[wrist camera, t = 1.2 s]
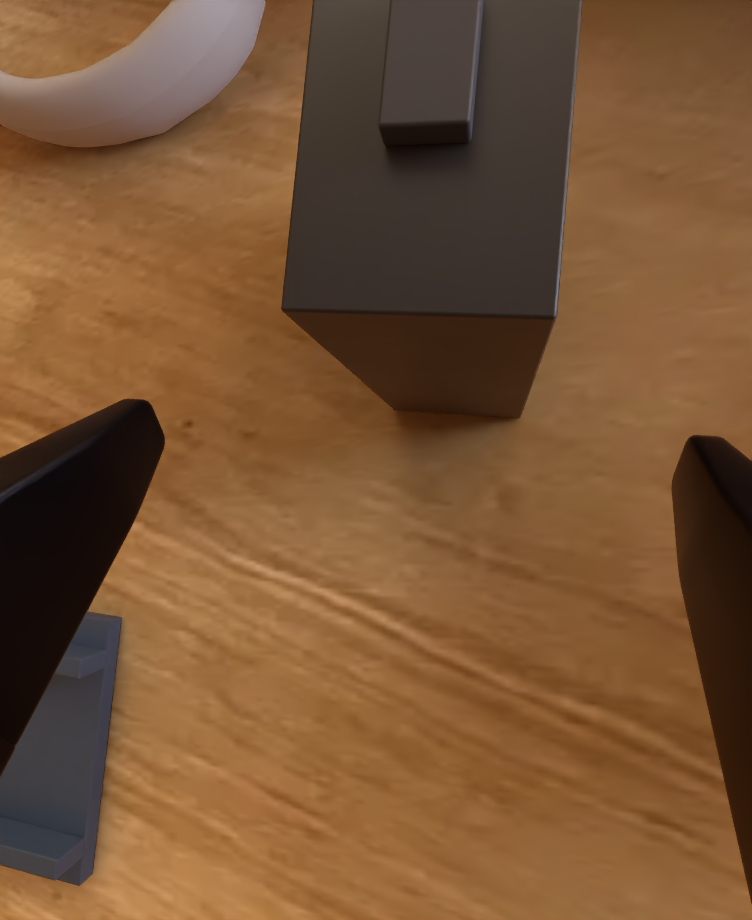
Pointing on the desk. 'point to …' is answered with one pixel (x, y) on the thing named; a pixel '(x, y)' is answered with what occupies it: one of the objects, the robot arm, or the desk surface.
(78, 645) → the stand
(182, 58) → the headphones
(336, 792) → the desk surface
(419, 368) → the battery pack
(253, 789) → the desk surface
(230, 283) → the desk surface
